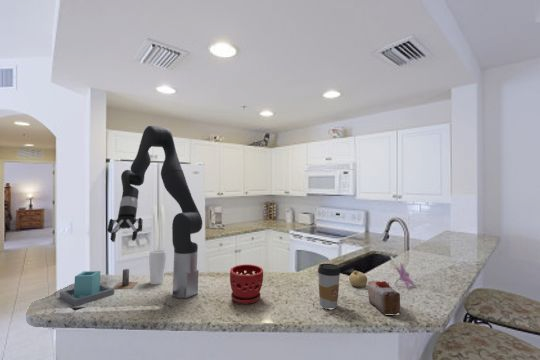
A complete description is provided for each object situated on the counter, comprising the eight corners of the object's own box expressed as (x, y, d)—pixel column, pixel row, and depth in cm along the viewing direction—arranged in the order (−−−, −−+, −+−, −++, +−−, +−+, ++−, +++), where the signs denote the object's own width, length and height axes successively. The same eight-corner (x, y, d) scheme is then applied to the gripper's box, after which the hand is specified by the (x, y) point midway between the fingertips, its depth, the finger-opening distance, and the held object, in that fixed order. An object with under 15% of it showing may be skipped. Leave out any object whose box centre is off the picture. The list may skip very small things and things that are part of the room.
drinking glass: (158, 289, 112) (160, 253, 113) (144, 287, 114) (146, 252, 114) (167, 283, 119) (169, 250, 120) (154, 282, 120) (155, 249, 121)
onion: (352, 281, 128) (352, 266, 128) (369, 285, 123) (369, 270, 123) (346, 286, 121) (346, 270, 121) (364, 290, 117) (364, 274, 117)
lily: (394, 293, 117) (407, 276, 115) (380, 274, 128) (391, 259, 125) (414, 298, 121) (426, 282, 118) (398, 280, 132) (409, 265, 129)
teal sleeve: (99, 294, 104) (100, 271, 104) (89, 302, 96) (90, 277, 97) (82, 294, 103) (83, 271, 103) (71, 302, 95) (72, 277, 96)
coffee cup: (326, 313, 94) (327, 270, 95) (312, 303, 101) (313, 264, 102) (344, 308, 98) (345, 267, 98) (329, 300, 105) (330, 262, 106)
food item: (364, 300, 106) (365, 275, 106) (383, 300, 107) (383, 275, 107) (383, 316, 92) (383, 288, 93) (404, 316, 93) (404, 288, 94)
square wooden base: (138, 285, 116) (139, 266, 116) (131, 292, 108) (132, 272, 108) (119, 285, 115) (119, 267, 115) (110, 293, 107) (111, 273, 107)
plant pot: (222, 299, 104) (223, 268, 104) (247, 290, 113) (248, 262, 114) (244, 310, 95) (245, 276, 95) (269, 299, 104) (270, 269, 105)
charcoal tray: (113, 298, 102) (114, 288, 102) (75, 310, 91) (75, 300, 91) (97, 290, 109) (97, 282, 109) (59, 301, 98) (59, 291, 98)
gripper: (109, 205, 123) (102, 239, 116) (142, 204, 126) (137, 237, 118) (115, 211, 130) (109, 244, 122) (146, 210, 132) (142, 242, 125)
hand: (123, 240), depth 120 cm, fingers open, 8 cm apart
